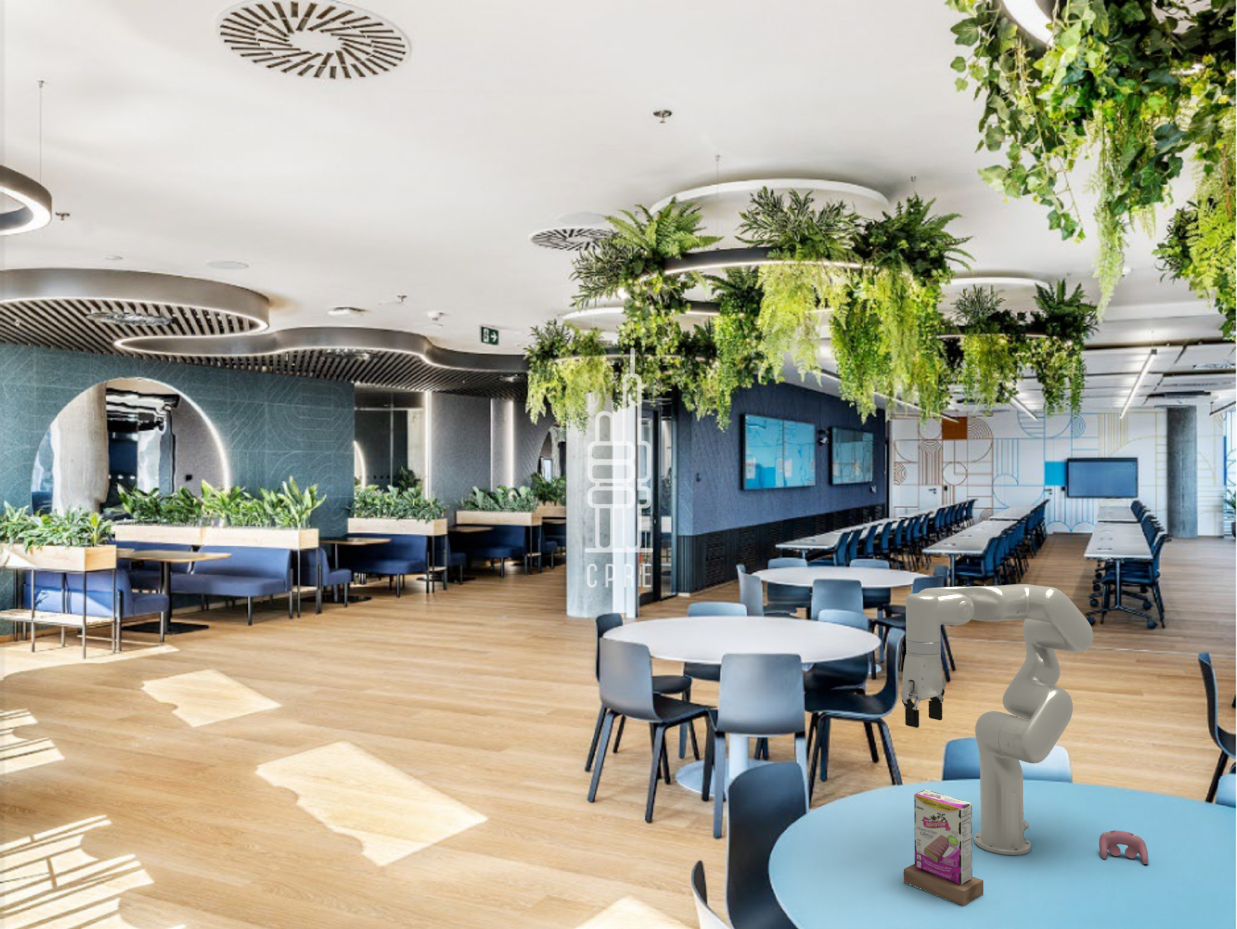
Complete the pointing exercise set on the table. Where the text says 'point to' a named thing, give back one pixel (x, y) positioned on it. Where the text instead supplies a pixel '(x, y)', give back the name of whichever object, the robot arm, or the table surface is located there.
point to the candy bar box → (943, 836)
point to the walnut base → (944, 886)
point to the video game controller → (1125, 838)
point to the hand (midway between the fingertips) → (924, 722)
